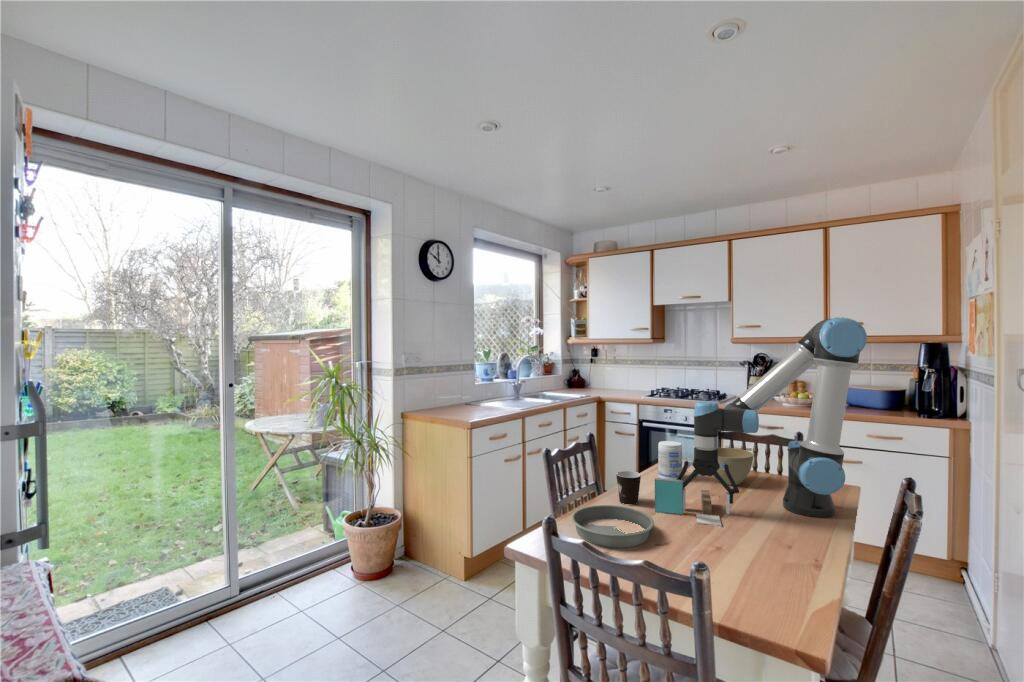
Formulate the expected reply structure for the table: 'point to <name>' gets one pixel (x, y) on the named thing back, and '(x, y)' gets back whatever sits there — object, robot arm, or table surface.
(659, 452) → the supplement tub
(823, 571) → the table surface
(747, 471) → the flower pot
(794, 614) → the table surface
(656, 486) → the standing tile
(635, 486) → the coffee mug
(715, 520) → the wooden handled spatula
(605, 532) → the cake pan
